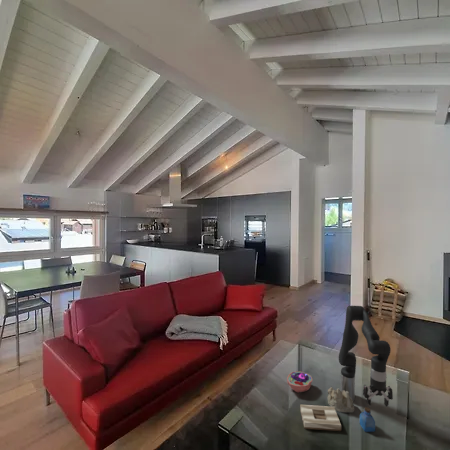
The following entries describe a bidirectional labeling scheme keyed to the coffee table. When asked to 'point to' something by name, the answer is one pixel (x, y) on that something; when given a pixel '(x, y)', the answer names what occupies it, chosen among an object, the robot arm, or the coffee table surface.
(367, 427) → the perfume bottle
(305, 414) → the socket plinth
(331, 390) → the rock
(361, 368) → the coffee table surface
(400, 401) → the coffee table surface
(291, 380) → the cell model
